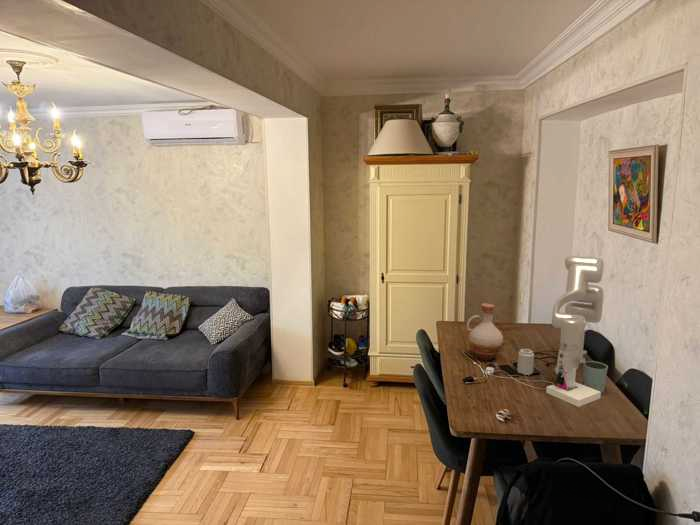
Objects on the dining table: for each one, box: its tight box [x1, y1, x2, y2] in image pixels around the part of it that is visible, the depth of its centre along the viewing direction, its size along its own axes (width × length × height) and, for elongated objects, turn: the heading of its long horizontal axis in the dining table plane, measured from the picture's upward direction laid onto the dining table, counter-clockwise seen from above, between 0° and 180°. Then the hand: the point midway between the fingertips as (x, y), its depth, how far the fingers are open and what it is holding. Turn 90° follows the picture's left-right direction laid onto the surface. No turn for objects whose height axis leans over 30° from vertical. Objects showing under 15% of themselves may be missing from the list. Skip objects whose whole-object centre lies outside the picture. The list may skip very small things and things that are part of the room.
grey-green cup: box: [582, 360, 609, 394], centre depth 221 cm, size 10×10×12 cm
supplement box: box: [556, 368, 577, 391], centre depth 218 cm, size 6×6×12 cm
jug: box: [465, 302, 504, 361], centre depth 259 cm, size 20×18×30 cm
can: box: [516, 348, 535, 376], centre depth 239 cm, size 8×8×12 cm
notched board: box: [545, 381, 602, 408], centre depth 215 cm, size 16×16×3 cm
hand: (565, 382), depth 218 cm, fingers closed on supplement box, 7 cm apart
